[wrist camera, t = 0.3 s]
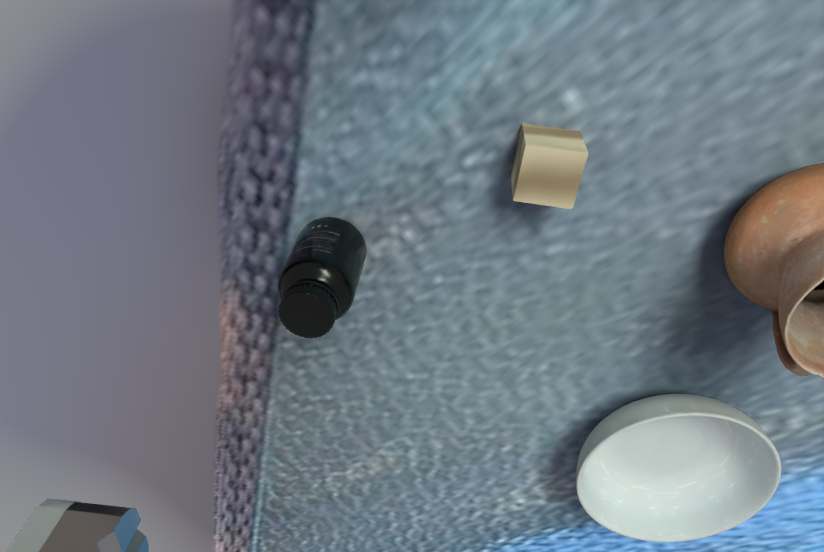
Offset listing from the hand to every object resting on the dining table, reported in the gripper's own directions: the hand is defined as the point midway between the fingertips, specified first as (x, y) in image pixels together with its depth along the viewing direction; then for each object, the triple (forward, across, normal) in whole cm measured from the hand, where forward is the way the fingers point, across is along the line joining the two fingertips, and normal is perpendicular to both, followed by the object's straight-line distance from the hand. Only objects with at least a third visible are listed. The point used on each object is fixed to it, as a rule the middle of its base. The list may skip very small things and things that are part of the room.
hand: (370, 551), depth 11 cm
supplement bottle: (+47, +10, +22) cm, 53 cm away
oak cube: (+46, -9, +11) cm, 48 cm away
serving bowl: (+47, -28, +44) cm, 70 cm away
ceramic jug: (+47, -32, +17) cm, 59 cm away
